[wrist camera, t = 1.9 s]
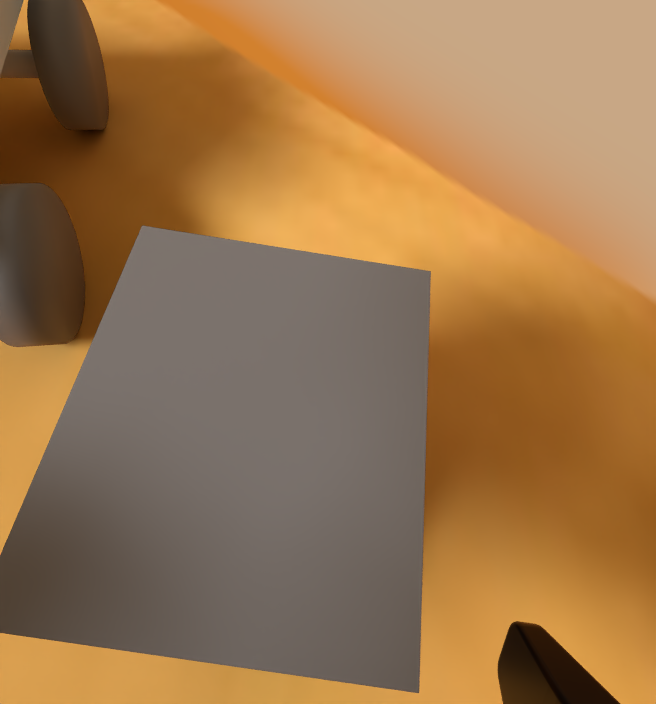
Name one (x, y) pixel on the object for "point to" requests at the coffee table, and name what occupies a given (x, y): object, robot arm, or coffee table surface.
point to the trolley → (36, 198)
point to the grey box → (238, 468)
